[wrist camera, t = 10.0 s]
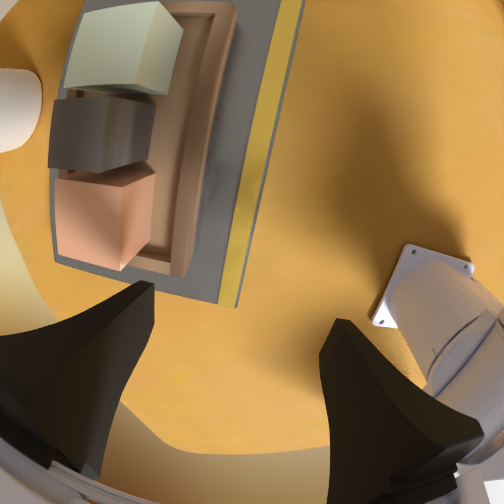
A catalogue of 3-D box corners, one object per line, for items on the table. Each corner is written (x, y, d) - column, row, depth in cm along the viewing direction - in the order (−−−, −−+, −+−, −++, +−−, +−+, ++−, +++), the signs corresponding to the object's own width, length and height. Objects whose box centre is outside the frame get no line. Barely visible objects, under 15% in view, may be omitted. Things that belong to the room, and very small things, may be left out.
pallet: (238, 22, 12) (224, -39, 5) (193, 257, 18) (160, 322, 12) (110, 24, 11) (48, -7, 5) (82, 233, 18) (22, 277, 11)
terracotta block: (155, 173, 14) (121, 187, 10) (150, 239, 16) (120, 271, 12) (96, 165, 14) (54, 178, 10) (95, 228, 15) (58, 254, 12)
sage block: (183, 29, 11) (158, 1, 7) (167, 94, 12) (135, 83, 8) (120, 33, 10) (84, 13, 7) (105, 93, 12) (63, 88, 8)
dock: (301, 11, 13) (306, -5, 11) (239, 289, 22) (236, 309, 19) (101, 7, 12) (84, -2, 10) (70, 250, 21) (53, 263, 19)
